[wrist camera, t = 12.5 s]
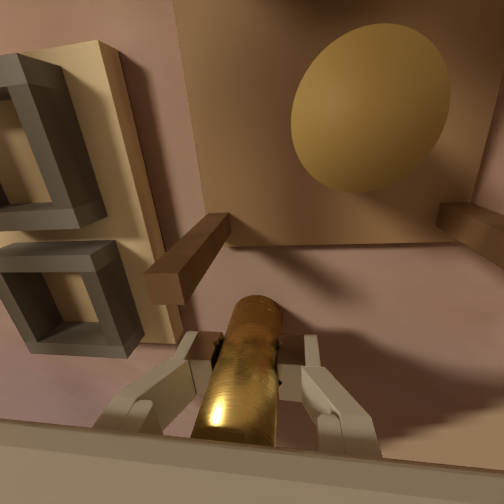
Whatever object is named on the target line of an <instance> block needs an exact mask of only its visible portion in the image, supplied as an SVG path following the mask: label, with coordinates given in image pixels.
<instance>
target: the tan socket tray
mask: <svg viewBox="0 0 504 504" xmlns="http://www.w3.org/2000/svg"><path fill="white" fill-rule="evenodd" d="M163 254H165V249H164V245H163V241H162V237H161V232H160V228H159V224H158V220H157V215H156V211H155V207H154V203H153V198H152V194H151V190H150V185H149V181H148V177H147V173H146V168H145V164H144V160H143V156H142V151H141V147H140V143H139V139H138V134H137V130H136V126H135V122H134V117H133V113H132V109H131V105H130V100H129V96H128V92H127V88H126V83H125V79H124V75H123V71H122V66H121V62H120V58H119V54H118V50H117V49H115V48H113V47H111V46H109V45H107V44H105V43H103V42H101V41H99V40H95V41H89V42H83V43H77V44H71V45H65V46H59V47H53V48H48V49H42V50H36V51H30V52H24V53H13V54H7V55H1V56H0V299H1V301H2V302H3V304H4V306H5V308H6V310H7V311H8V313H9V315H10V317H11V319H12V320H13V322H14V324H15V326H16V328H17V329H18V331H19V333H20V335H21V337H22V338H23V340H24V342H25V344H26V346H27V348H28V349H29V351H30V353H33V354H51V355H69V356H88V357H106V358H124V359H128V357H129V356H130V354H131V353H132V352H133V350H134V349H135V348H136V346H137V345H138V344H139V343H163V344H176V343H177V341H178V339H179V337H180V336H181V334H182V332H183V326H182V322H181V317H180V313H179V309H178V305H151V301H150V298H149V294H148V291H147V287H146V283H145V280H144V276H143V273H144V272H145V271H146V270H147V269H148V268H149V267H150V266H151V265H153V264H154V263H155V262H156V261H157V260H158V259H159V258H160V257H161V256H162V255H163Z"/></svg>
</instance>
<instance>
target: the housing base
mask: <svg viewBox="0 0 504 504" xmlns="http://www.w3.org/2000/svg"><path fill="white" fill-rule="evenodd" d="M173 6H174V13H175V19H176V25H177V32H178V38H179V44H180V51H181V57H182V64H183V70H184V76H185V83H186V89H187V95H188V102H189V108H190V115H191V121H192V127H193V134H194V140H195V147H196V153H197V159H198V166H199V172H200V178H201V185H202V191H203V198H204V204H205V210H206V216H205V217H204V218H203V219H202V220H201V221H199V222H198V223H197V224H196V225H195V226H194V227H193V228H192V229H191V230H190V231H189V232H187V233H186V234H185V235H184V236H183V237H182V238H181V239H180V240H179V241H178V242H177V243H175V244H174V245H173V246H172V247H171V248H170V249H169V250H168V251H167V252H166V253H165V254H163V255H162V256H161V257H160V258H159V259H158V260H157V261H156V262H155V263H154V264H153V265H151V266H150V267H149V268H148V269H147V270H146V271H145V272H144V273H143V276H144V280H145V283H146V287H147V291H148V294H149V298H150V301H151V305H185V304H186V303H187V301H188V299H189V298H190V296H191V295H192V293H193V292H194V290H195V288H196V287H197V285H198V284H199V282H200V281H201V279H202V277H203V276H204V274H205V273H206V271H207V270H208V268H209V266H210V265H211V263H212V262H213V260H214V259H215V257H216V256H217V254H218V252H219V251H220V249H221V248H222V247H238V246H284V245H330V244H376V243H422V242H461V243H463V244H465V245H466V246H468V247H469V248H471V249H472V250H474V251H476V252H477V253H479V254H480V255H482V256H483V257H485V258H487V259H488V260H490V261H491V262H493V263H494V264H496V265H498V266H499V267H501V268H502V269H504V216H503V215H501V214H498V213H496V212H493V211H490V210H488V209H485V208H482V207H480V206H477V205H475V204H472V203H471V199H472V195H473V191H474V187H475V183H476V179H477V175H478V171H479V168H480V164H481V160H482V156H483V152H484V148H485V144H486V140H487V136H488V132H489V128H490V124H491V120H492V116H493V112H494V108H495V105H496V101H497V97H498V93H499V89H500V85H501V81H502V77H503V73H504V0H173Z"/></svg>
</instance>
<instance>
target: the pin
mask: <svg viewBox="0 0 504 504" xmlns="http://www.w3.org/2000/svg"><path fill="white" fill-rule="evenodd" d="M282 321H283V316H282V311H281V309H280V307H279V306H278V305H277V304H276V303H275V302H274V301H273V300H271V299H269V298H267V297H264V296H260V295H252V296H247V297H245V298H243V299H241V300H240V301H239V302H238V303H237V304H236V305H235V308H234V310H233V313H232V316H231V319H230V322H229V325H228V328H227V331H226V334H225V337H224V340H223V343H222V346H221V349H220V351H219V354H218V357H217V360H216V363H215V366H214V369H213V372H212V375H211V378H210V381H209V384H208V387H207V390H206V393H205V396H204V399H203V401H202V404H201V407H200V410H199V413H198V416H197V419H196V422H195V425H194V428H193V431H192V434H191V437H190V438H194V439H204V440H213V441H223V442H232V443H242V444H252V445H261V446H271V447H275V445H276V428H277V410H278V392H279V379H278V372H277V357H278V349H279V334H282Z"/></svg>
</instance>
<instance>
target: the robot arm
mask: <svg viewBox="0 0 504 504" xmlns="http://www.w3.org/2000/svg"><path fill="white" fill-rule="evenodd" d="M223 340H224V335H223V333H222V332H210V331H187V332H186V333H185V335H184V337H183V339H182V341H181V343H180V344H179V346H178V348H177V350H176V352H175V354H174V355H173V357H172V359H167V360H166V361H165V362H163V363H162V364H160V365H159V366H157V367H156V368H154V369H153V370H151V371H150V372H148V373H147V374H146V375H144V376H143V377H141V378H140V379H138V380H137V381H135V382H134V383H132V384H131V385H130V386H128V387H127V388H125V389H124V390H122V391H121V392H119V393H118V394H116V395H115V396H114V397H113V398H112V400H111V401H110V403H109V404H108V405H107V407H106V408H105V410H104V411H103V413H102V414H101V416H100V417H99V418H98V420H97V421H96V423H95V424H94V426H93V427H92V428H88V427H78V426H69V425H59V424H49V423H40V422H30V421H20V420H11V419H1V418H0V504H504V471H503V470H493V469H483V468H474V467H465V466H455V465H445V464H435V463H426V462H415V461H406V460H397V459H388V458H387V459H386V458H382V454H381V450H380V447H379V443H378V440H377V436H376V433H375V429H374V425H373V422H372V418H371V416H370V415H369V414H368V413H367V412H366V411H365V410H364V409H363V408H362V407H361V406H360V404H359V403H358V402H357V401H356V400H355V399H354V398H353V397H352V396H351V395H350V394H349V393H348V391H347V390H346V389H345V388H344V387H343V386H342V385H341V384H340V383H339V382H338V381H337V379H336V378H335V377H334V376H333V375H332V374H331V373H330V372H329V371H328V370H327V369H326V367H321V360H320V352H319V344H318V336H317V335H309V334H304V335H297V334H279V349H278V357H277V372H278V379H279V400H285V401H295V402H302V404H303V406H304V408H305V409H306V411H307V413H308V415H309V416H310V418H311V420H312V421H313V423H314V425H315V426H316V428H317V449H316V451H310V450H301V449H291V448H281V447H271V446H261V445H252V444H242V443H232V442H223V441H213V440H204V439H194V438H185V437H175V436H165V435H163V432H162V431H163V430H164V429H165V428H166V427H167V426H168V425H169V424H170V423H171V422H172V421H173V420H174V419H175V418H176V417H177V416H178V414H179V413H180V412H181V411H182V410H183V409H184V408H185V407H186V406H187V405H188V404H189V403H190V402H191V401H192V400H193V399H194V398H195V397H196V394H199V395H205V393H206V390H207V387H208V384H209V381H210V378H211V375H212V372H213V369H214V366H215V363H216V360H217V357H218V354H219V351H220V349H221V346H222V343H223Z"/></svg>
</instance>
